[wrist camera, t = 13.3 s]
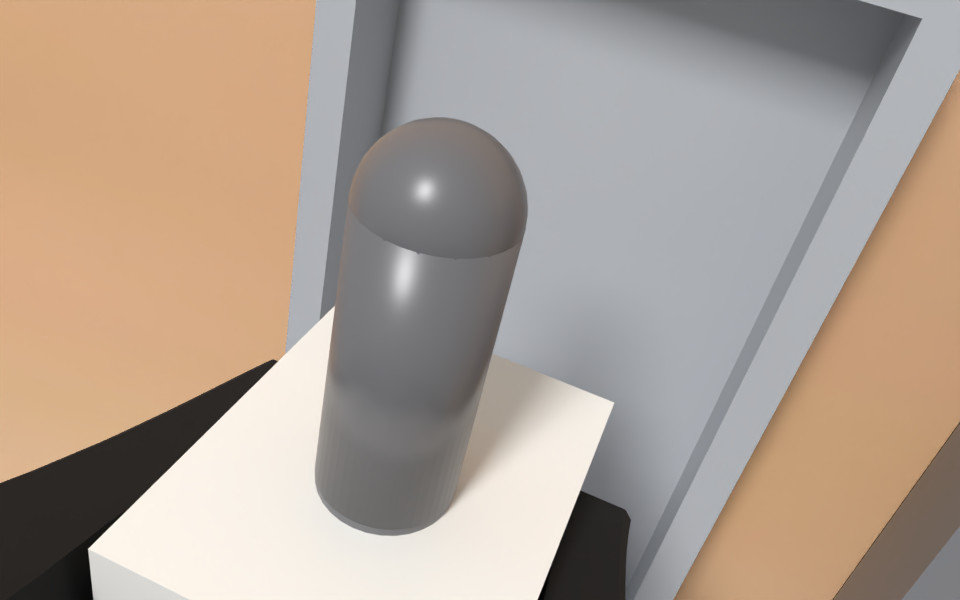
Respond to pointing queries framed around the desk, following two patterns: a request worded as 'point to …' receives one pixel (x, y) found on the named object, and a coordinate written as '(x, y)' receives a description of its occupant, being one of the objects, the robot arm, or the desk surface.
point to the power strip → (917, 540)
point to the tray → (646, 201)
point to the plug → (382, 418)
